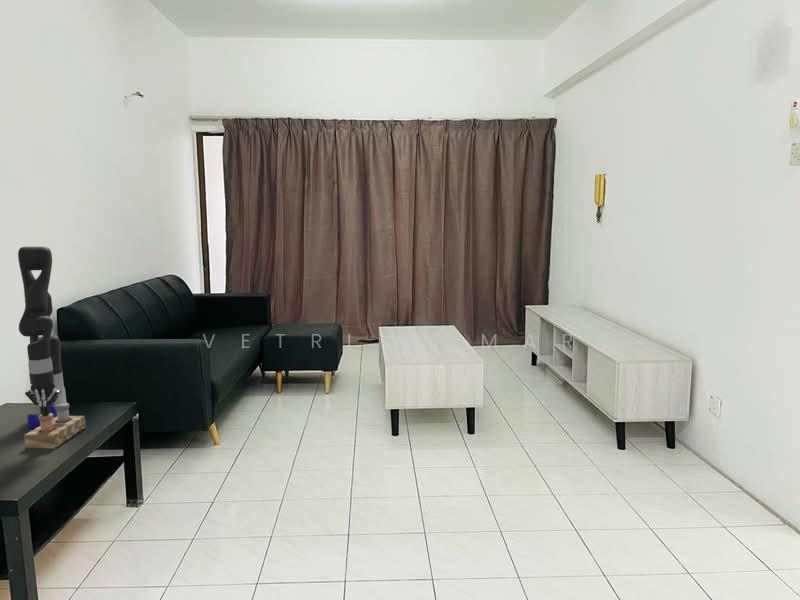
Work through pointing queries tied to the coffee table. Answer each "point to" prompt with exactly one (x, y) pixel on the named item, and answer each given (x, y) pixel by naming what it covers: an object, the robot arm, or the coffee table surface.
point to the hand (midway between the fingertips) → (45, 415)
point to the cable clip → (34, 420)
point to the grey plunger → (62, 412)
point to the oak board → (54, 433)
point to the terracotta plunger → (46, 423)
